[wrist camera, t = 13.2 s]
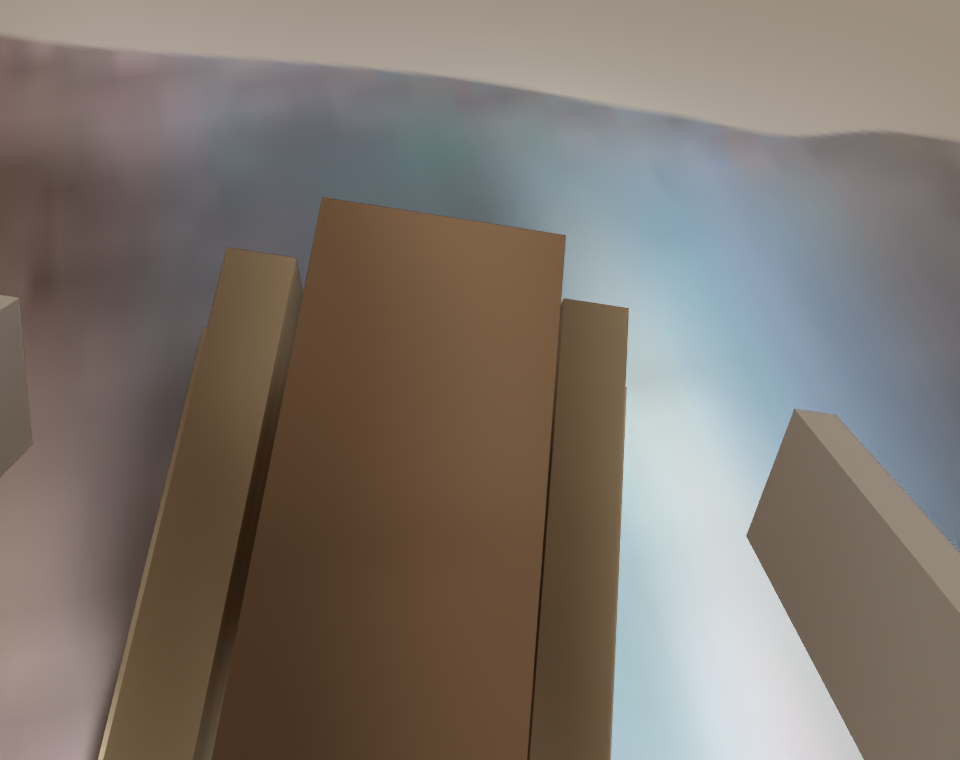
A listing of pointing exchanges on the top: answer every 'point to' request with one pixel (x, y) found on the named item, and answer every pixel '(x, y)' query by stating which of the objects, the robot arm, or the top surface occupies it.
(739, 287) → the top surface
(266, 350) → the rack
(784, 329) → the top surface
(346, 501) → the tile
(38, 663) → the top surface
